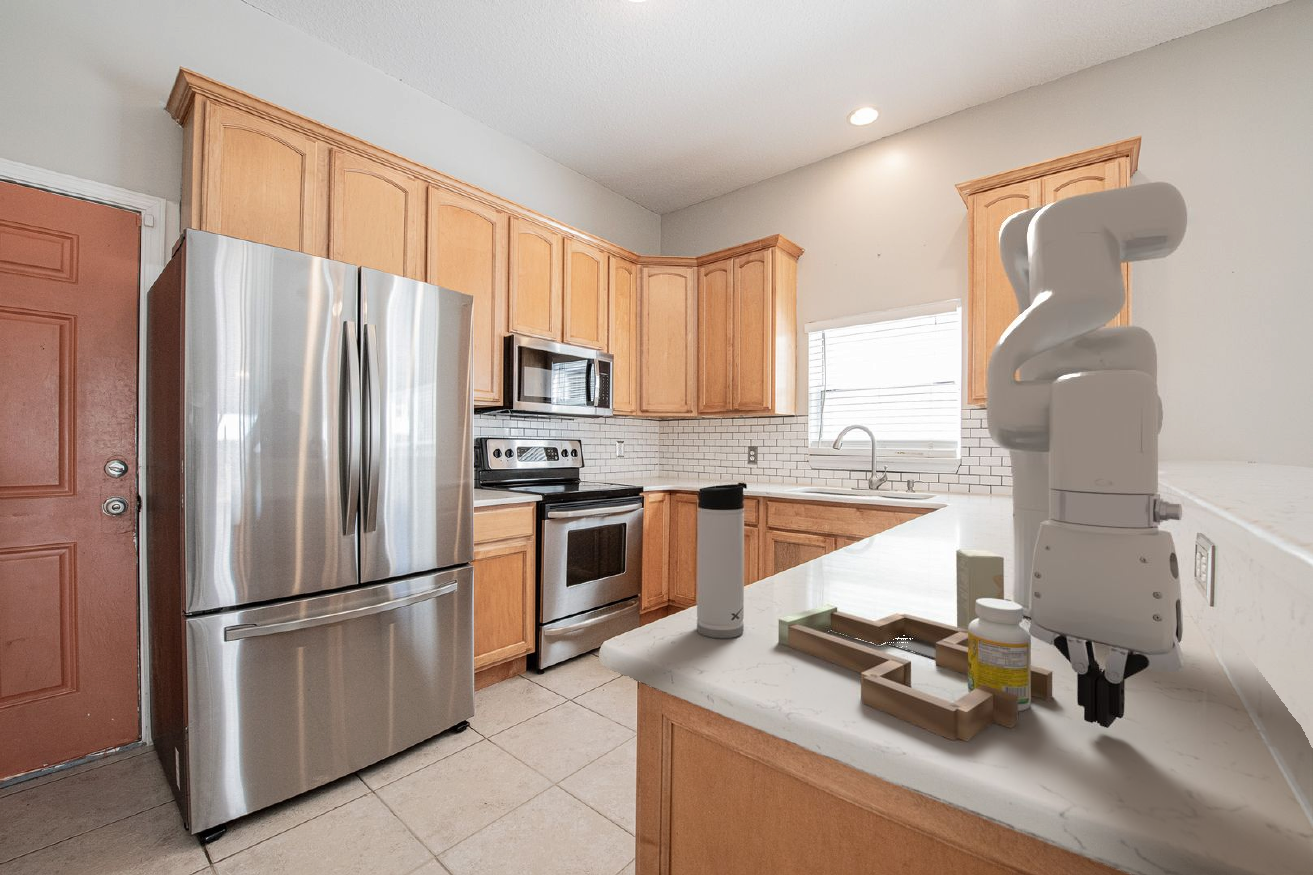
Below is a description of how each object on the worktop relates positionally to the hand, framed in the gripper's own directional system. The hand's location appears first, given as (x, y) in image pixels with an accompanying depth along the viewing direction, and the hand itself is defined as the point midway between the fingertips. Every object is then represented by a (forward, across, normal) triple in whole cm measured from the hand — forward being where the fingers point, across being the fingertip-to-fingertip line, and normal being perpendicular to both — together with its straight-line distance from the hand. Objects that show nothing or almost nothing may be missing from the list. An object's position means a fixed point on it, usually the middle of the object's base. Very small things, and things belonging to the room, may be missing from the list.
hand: (1100, 719), depth 49 cm
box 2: (+2, +17, -18) cm, 25 cm away
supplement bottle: (+2, +8, 0) cm, 8 cm away
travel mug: (+2, +39, +8) cm, 40 cm away
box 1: (+1, +18, 0) cm, 18 cm away
